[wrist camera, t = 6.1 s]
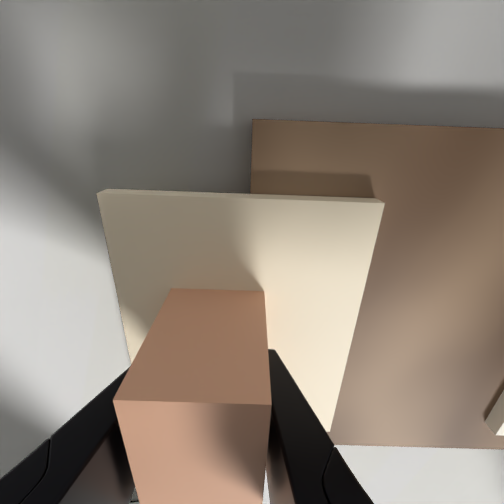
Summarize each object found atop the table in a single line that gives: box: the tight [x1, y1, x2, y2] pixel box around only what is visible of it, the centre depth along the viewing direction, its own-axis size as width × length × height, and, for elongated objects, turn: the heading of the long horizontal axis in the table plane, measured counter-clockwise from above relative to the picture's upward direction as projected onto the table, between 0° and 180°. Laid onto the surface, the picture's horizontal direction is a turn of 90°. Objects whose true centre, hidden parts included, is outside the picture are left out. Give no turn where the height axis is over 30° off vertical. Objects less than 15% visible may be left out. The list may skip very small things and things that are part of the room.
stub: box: [96, 189, 385, 504], centre depth 8 cm, size 8×10×5 cm
